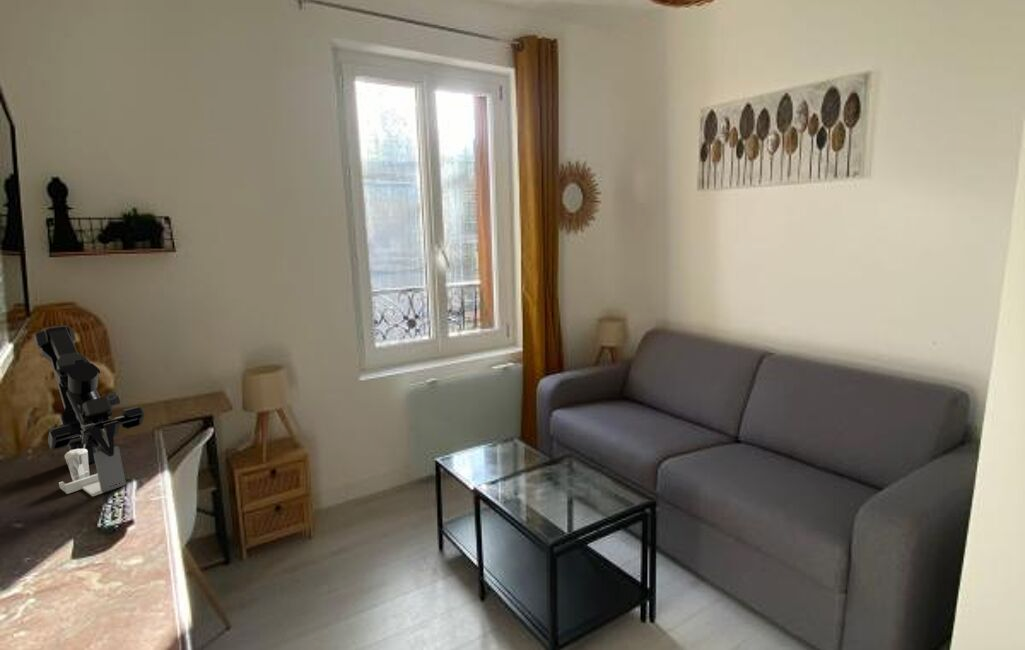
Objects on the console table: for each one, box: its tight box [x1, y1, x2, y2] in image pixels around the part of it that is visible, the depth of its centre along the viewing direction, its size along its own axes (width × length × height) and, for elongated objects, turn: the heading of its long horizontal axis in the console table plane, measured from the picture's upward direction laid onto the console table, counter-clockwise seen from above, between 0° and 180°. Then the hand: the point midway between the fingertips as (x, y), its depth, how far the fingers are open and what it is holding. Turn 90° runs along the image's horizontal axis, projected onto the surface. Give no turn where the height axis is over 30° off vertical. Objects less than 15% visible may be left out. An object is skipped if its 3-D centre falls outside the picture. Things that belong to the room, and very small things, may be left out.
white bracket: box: [58, 445, 127, 497], centre depth 136 cm, size 13×10×10 cm
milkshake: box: [64, 444, 91, 482], centre depth 139 cm, size 4×5×10 cm
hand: (111, 455), depth 132 cm, fingers closed
